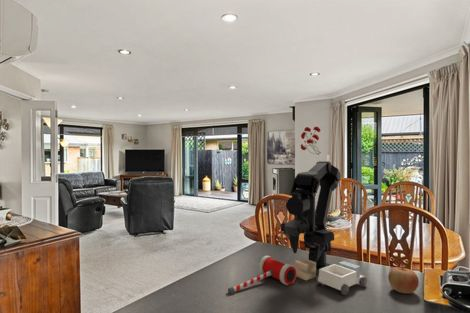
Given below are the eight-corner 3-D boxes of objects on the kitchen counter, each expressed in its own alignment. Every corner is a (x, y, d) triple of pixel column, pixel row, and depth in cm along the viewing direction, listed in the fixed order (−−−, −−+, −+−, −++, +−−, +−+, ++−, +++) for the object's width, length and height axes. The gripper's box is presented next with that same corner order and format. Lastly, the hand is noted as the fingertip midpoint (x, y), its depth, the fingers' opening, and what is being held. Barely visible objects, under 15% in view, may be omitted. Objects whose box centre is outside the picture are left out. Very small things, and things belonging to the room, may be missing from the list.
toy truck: (339, 275, 103) (339, 259, 103) (366, 285, 96) (367, 267, 96) (315, 285, 95) (315, 267, 95) (343, 296, 88) (343, 277, 88)
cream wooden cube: (304, 272, 106) (304, 258, 106) (315, 277, 102) (316, 262, 102) (294, 275, 103) (294, 261, 103) (306, 280, 99) (306, 265, 99)
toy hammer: (242, 303, 84) (242, 280, 84) (218, 288, 93) (218, 267, 93) (297, 283, 98) (297, 263, 98) (271, 271, 107) (271, 253, 107)
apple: (381, 288, 94) (382, 262, 94) (399, 284, 97) (400, 259, 97) (405, 299, 87) (405, 271, 87) (424, 295, 90) (424, 268, 90)
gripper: (269, 208, 105) (269, 253, 105) (313, 218, 90) (312, 270, 90) (291, 205, 112) (290, 248, 112) (335, 214, 97) (334, 262, 97)
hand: (305, 256), depth 103 cm, fingers open, 9 cm apart
